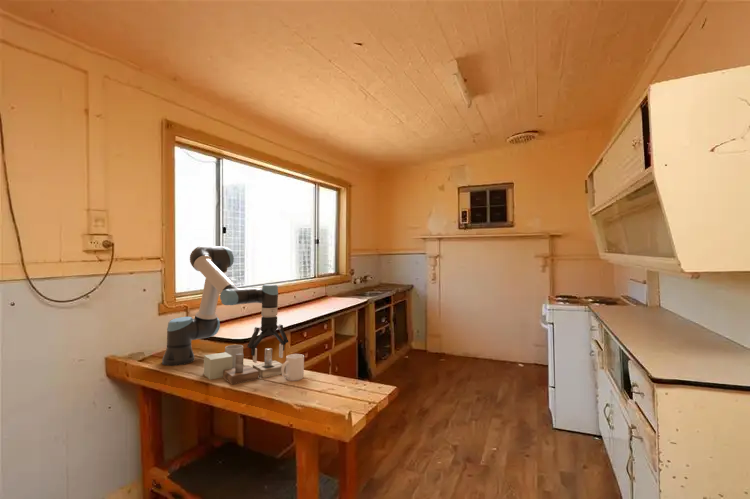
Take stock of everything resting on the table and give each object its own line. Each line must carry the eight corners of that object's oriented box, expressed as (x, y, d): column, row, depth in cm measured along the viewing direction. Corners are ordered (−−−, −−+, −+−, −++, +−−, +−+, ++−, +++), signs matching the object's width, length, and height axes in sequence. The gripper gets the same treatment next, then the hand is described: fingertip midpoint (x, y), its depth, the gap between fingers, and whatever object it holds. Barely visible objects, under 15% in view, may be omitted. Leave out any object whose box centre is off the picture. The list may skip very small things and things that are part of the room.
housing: (203, 374, 165) (204, 355, 165) (224, 370, 172) (225, 352, 172) (209, 379, 158) (210, 359, 158) (232, 375, 164) (232, 356, 165)
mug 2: (286, 384, 153) (287, 361, 153) (275, 380, 158) (275, 357, 158) (307, 377, 162) (307, 355, 163) (295, 374, 167) (296, 352, 168)
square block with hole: (252, 371, 170) (252, 364, 170) (275, 367, 178) (275, 360, 178) (262, 377, 161) (263, 370, 161) (286, 372, 169) (286, 365, 169)
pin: (263, 373, 167) (263, 348, 168) (269, 372, 170) (270, 347, 170) (266, 375, 165) (266, 350, 165) (272, 373, 167) (273, 349, 168)
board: (223, 377, 160) (224, 352, 161) (248, 372, 168) (249, 349, 169) (232, 384, 152) (233, 358, 152) (258, 378, 160) (259, 353, 160)
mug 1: (231, 369, 174) (232, 349, 174) (219, 366, 178) (220, 346, 179) (249, 364, 183) (249, 345, 184) (237, 361, 188) (238, 343, 188)
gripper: (247, 319, 158) (245, 366, 156) (295, 314, 174) (294, 357, 173) (241, 317, 163) (239, 362, 162) (288, 313, 180) (287, 354, 179)
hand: (268, 359), depth 168 cm, fingers open, 13 cm apart
